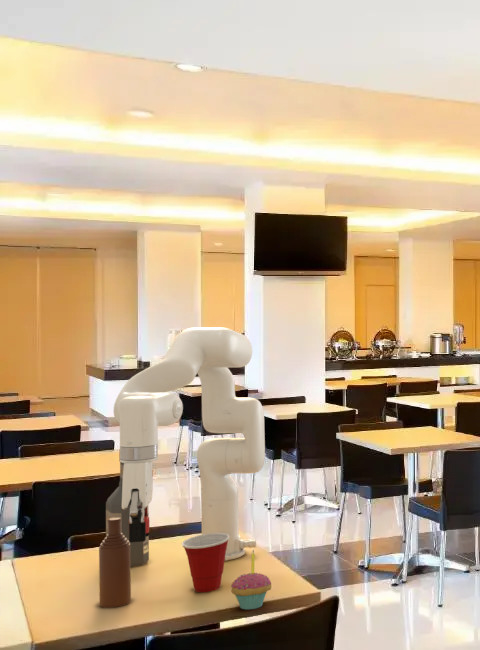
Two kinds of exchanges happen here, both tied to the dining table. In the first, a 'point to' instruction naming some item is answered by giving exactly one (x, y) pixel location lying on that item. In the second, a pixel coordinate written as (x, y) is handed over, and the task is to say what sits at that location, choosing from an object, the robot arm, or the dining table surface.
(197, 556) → the plastic cup
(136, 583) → the dining table surface
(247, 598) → the cupcake
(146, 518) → the cap
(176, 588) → the dining table surface
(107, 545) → the sauce bottle
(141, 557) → the liquor
